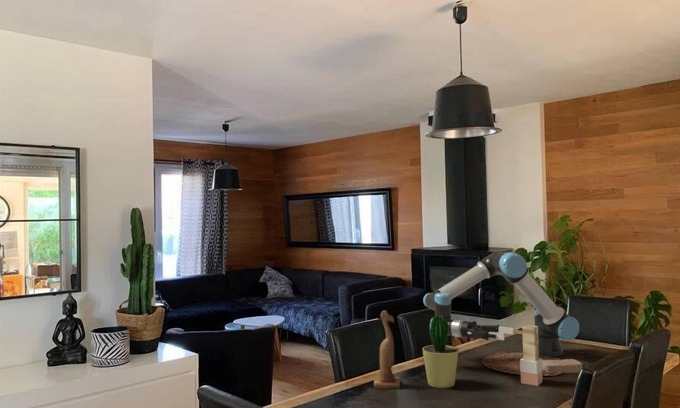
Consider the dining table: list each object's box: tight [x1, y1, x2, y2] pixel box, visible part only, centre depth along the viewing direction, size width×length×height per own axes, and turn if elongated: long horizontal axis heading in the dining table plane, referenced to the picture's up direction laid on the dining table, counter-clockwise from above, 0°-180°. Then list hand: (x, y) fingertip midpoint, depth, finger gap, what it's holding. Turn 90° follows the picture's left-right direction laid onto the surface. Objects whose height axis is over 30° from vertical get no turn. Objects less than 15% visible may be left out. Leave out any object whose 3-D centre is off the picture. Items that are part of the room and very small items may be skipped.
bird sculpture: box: [373, 310, 401, 390], centre depth 222 cm, size 11×12×32 cm
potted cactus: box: [422, 314, 460, 389], centre depth 222 cm, size 15×15×30 cm
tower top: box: [519, 357, 543, 374], centre depth 222 cm, size 7×7×5 cm
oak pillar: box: [522, 324, 540, 361], centre depth 222 cm, size 5×5×14 cm
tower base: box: [520, 370, 543, 387], centre depth 221 cm, size 7×7×5 cm
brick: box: [542, 358, 583, 374], centre depth 238 cm, size 17×8×5 cm, turn 89°
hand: (508, 334), depth 227 cm, fingers open, 13 cm apart
